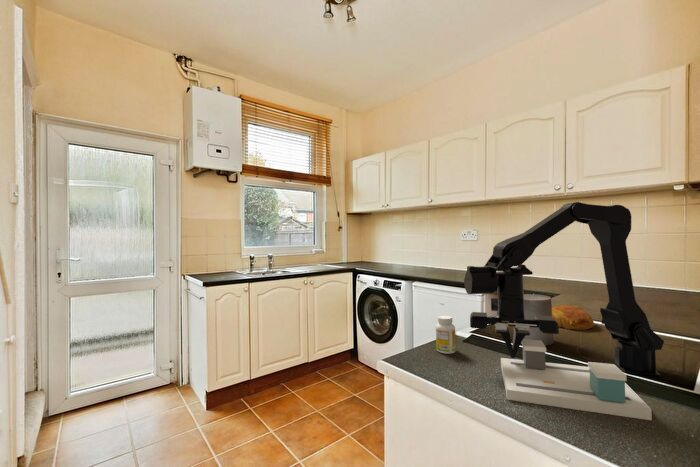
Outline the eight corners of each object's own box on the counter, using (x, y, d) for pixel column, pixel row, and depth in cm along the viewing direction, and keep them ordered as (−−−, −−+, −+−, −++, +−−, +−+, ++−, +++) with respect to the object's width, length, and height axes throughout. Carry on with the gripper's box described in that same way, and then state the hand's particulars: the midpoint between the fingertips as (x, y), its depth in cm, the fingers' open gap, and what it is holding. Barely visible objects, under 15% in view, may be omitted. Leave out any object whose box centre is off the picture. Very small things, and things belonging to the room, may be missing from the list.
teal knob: (615, 390, 64) (614, 364, 64) (627, 403, 59) (626, 375, 59) (588, 386, 65) (587, 361, 65) (597, 399, 60) (596, 372, 60)
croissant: (537, 326, 124) (533, 305, 125) (578, 319, 124) (574, 298, 124) (560, 336, 110) (556, 313, 110) (607, 329, 109) (602, 305, 110)
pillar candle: (545, 336, 105) (543, 289, 105) (559, 346, 95) (557, 295, 95) (513, 336, 106) (511, 290, 107) (523, 345, 97) (521, 295, 97)
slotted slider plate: (612, 378, 74) (611, 368, 74) (651, 420, 57) (651, 408, 57) (500, 365, 82) (500, 357, 82) (507, 399, 66) (506, 389, 66)
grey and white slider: (542, 361, 79) (541, 340, 79) (546, 370, 74) (546, 347, 74) (521, 359, 80) (521, 338, 80) (524, 367, 75) (524, 346, 75)
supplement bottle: (449, 346, 97) (448, 314, 97) (459, 352, 92) (458, 318, 92) (433, 348, 96) (432, 315, 96) (442, 355, 91) (441, 320, 91)
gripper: (548, 289, 83) (550, 350, 83) (470, 287, 90) (472, 343, 90) (558, 297, 73) (560, 367, 72) (469, 294, 79) (471, 358, 79)
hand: (512, 357), depth 79 cm, fingers closed
